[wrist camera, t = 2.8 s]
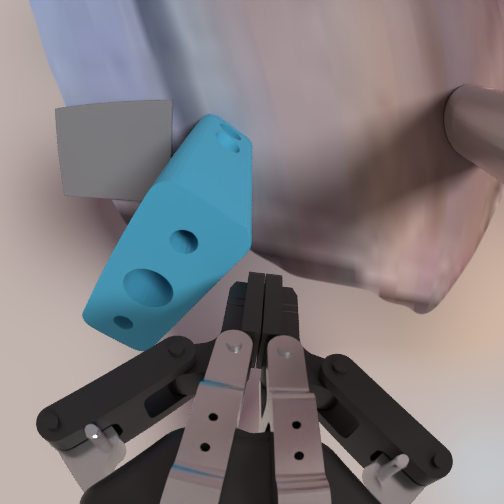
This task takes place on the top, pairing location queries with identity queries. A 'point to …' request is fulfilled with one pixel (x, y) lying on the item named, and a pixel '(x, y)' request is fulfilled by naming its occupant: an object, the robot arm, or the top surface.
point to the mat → (114, 147)
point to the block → (178, 238)
